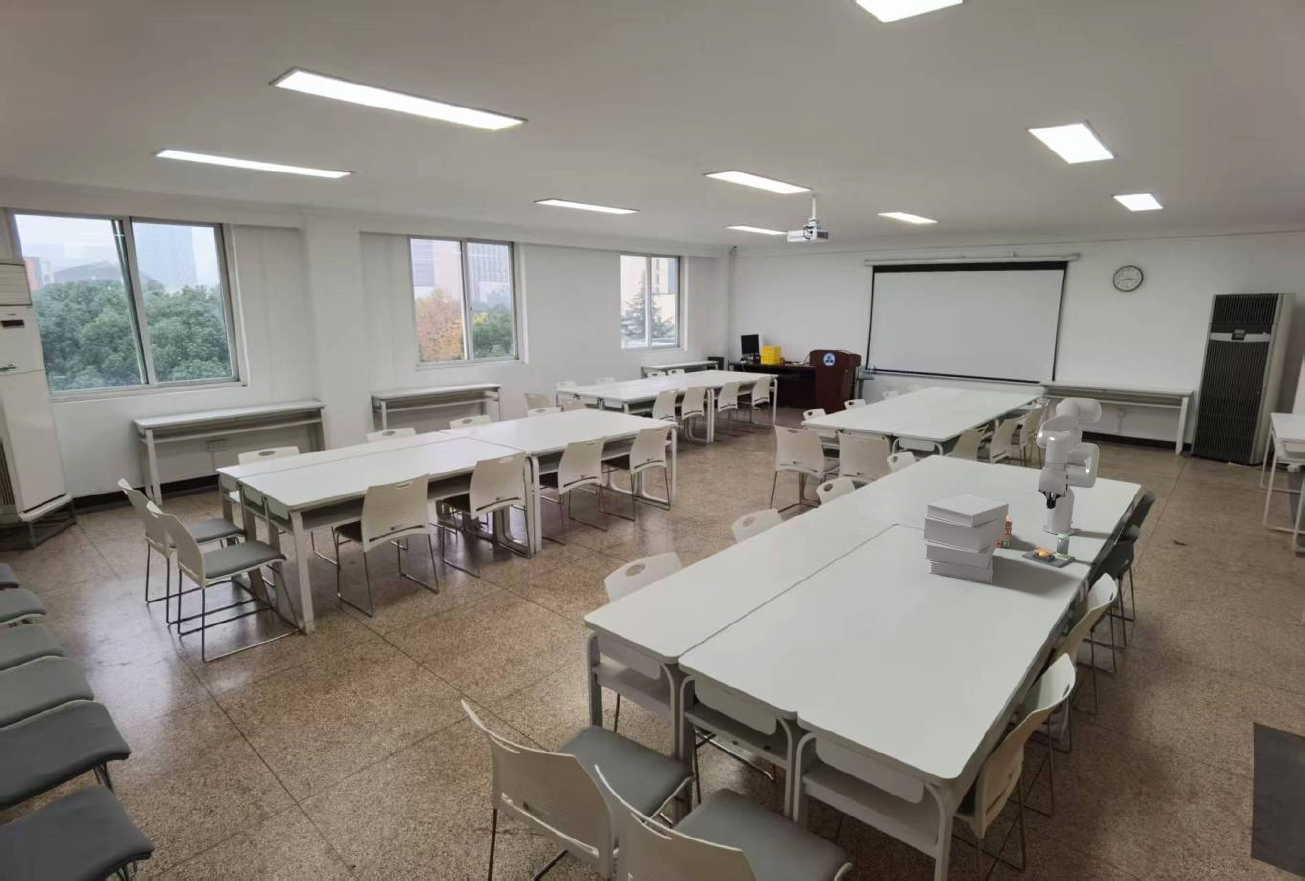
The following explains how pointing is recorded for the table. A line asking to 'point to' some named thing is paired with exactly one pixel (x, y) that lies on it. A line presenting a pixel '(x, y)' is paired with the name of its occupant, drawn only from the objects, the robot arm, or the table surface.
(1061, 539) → the green grey cylinder
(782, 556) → the table surface
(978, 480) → the table surface
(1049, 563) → the board
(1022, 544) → the table surface
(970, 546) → the book stack
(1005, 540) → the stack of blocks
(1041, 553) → the button
